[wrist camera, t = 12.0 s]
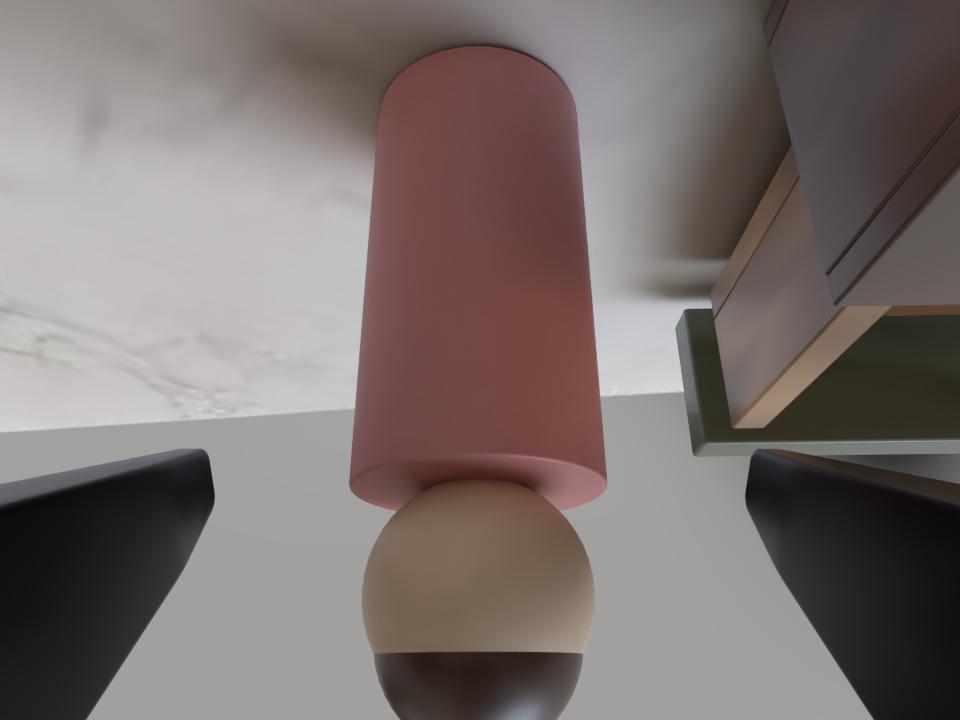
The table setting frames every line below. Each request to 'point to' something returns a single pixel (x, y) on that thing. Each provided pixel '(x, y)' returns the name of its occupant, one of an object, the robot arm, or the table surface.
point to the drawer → (812, 353)
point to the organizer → (876, 141)
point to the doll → (478, 391)
